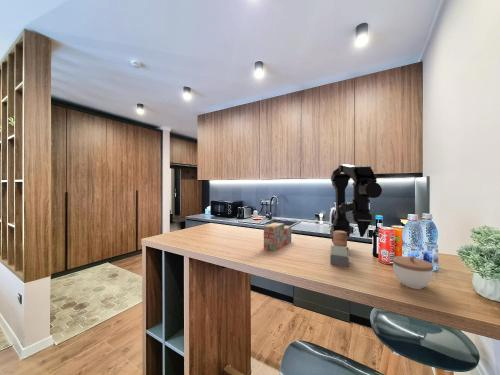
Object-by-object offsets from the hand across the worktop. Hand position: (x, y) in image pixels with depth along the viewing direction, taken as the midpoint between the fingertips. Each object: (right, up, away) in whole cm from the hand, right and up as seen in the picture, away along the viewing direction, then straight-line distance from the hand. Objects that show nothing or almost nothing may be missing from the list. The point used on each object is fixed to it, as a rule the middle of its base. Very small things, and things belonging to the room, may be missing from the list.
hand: (360, 234), depth 86 cm
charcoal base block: (-7, -13, +4) cm, 15 cm away
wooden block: (-7, -5, +4) cm, 9 cm away
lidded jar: (+9, -13, -16) cm, 23 cm away
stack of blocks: (-30, -13, +30) cm, 44 cm away
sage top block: (-7, -9, +4) cm, 12 cm away
